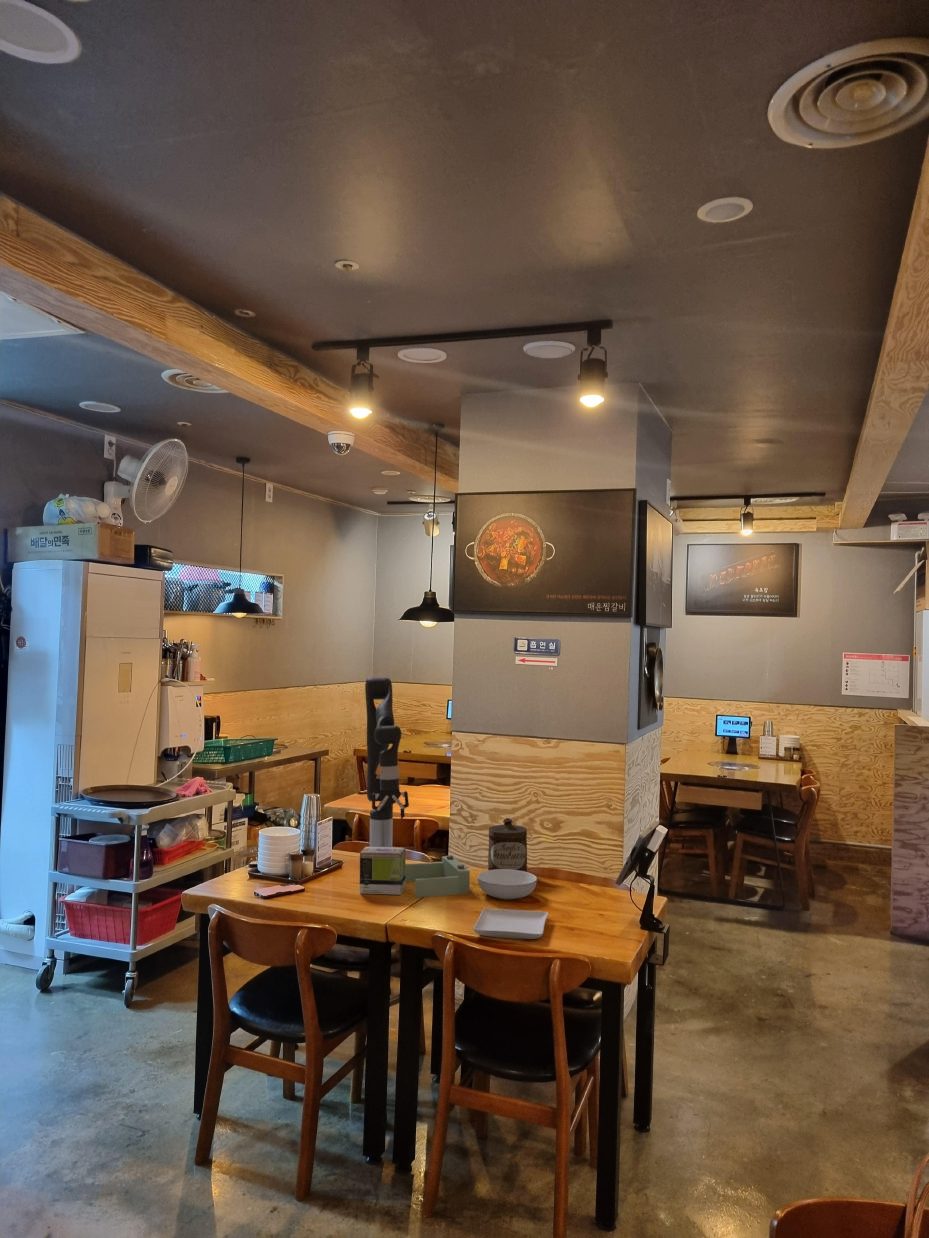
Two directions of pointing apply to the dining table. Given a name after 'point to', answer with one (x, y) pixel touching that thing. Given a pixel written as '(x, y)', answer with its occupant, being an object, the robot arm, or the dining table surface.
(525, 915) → the salad plate
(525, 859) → the wooden container
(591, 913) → the dining table surface
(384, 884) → the tea box
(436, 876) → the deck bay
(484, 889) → the serving bowl
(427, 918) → the dining table surface
